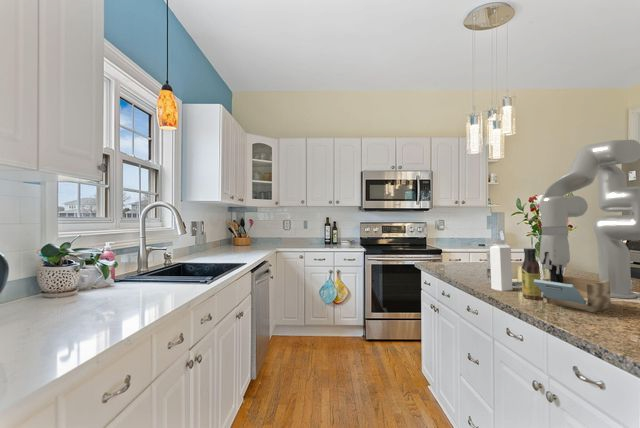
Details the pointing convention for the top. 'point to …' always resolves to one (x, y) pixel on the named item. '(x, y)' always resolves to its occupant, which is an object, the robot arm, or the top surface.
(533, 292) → the sauce bottle
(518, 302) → the top surface
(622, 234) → the robot arm
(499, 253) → the milk
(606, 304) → the cabinet
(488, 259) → the coffee box
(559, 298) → the door
